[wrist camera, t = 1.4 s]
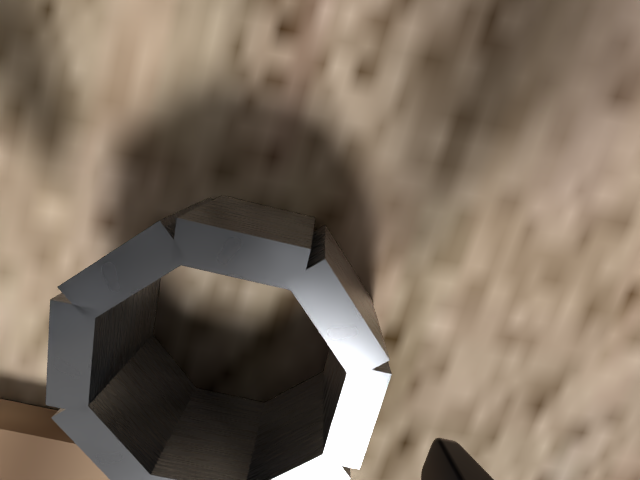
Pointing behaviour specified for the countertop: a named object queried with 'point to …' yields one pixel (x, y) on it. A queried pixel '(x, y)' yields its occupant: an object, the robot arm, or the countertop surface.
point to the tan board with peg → (39, 447)
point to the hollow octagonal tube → (175, 387)
